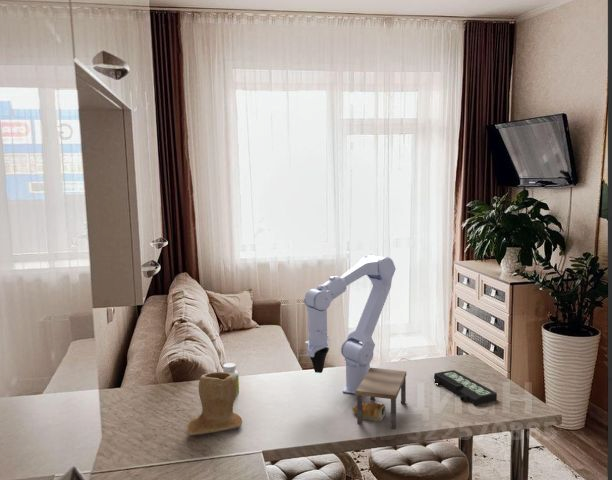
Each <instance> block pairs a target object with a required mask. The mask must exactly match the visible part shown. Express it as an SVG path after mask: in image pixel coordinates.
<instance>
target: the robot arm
mask: <svg viewBox="0 0 612 480" xmlns="http://www.w3.org/2000/svg"><path fill="white" fill-rule="evenodd" d="M396 269H397V268H396V265H395V263H394V260H393V259H392V258H390V257H389V256H388V257H387V256H379V255H373V254H372V253H371V254H370V253H369V254H365V255H364V256H363V257H362V258H360V259H359V262H357V263H355V265H354V266H352V267H351V268H349V269H348V270H347V271H345V273H343V274H342V275H341V276H338V275H335V276H333V275H331V276H329V279H328V280H326V281H325V282H323V283H322V284H319V285H318V286H317V287H316V288H311V289H308V290H307V292H306V293H305V294H304V297H303V298H302V299H303V303H304V305H305V307H306V312H307V325H308V326H307V329H308V330H307V331H308V333H307V334H308V340H306V341H305V342H304V344H305V345H306V346H307V349H306V356H307V357H308V358H310V361H311V362H312V367H313V370H314V373H319V374H321V373H323V371H324V366H325V363H326V362H325V361H326V358H327V355H328V353H329V350H330V348H329V347H328V346H329V335H328V309H329V307H330V305H331V303H332V302H334V301H333V300H335V299H336V298H337V297H339V296H341V295H342V294H344V293H345V292H346V291H347V286H349V285H351V284H353V283H354V282H355V281H357V280H359V279H361V278H363V277H364V276H367V278H368V279H369V281H370V282H371V284H372V288H371V290H370V293H369V295H368V298H367V301H366V303H365V305H364V309H363V311H362V313H361V316H360V319H359V321H358V324H357V325H356V328H355V330H354V331H352V332H350V333H349V334H348V335H347V338H346V339H345V340H344V341H343V342H342V344H341V348H340V353H341V355H342V357H343V358H344V361H345V380H346V381H345V382H346V383H345V384H346V385H345V386H344V388H343V389H342V393H346V394H355V395H356V390H357V388H358V387H359V385H360V384H361V382H362V380H363V379H364V377H365V376H366V374H367V372H368V371H369V369H370V368H371V365H370V363H371V361H372V360H373V357H374V349H375V346H376V344H375V342H374V340H373V334H374V332H375V329H376V326H377V324H378V321H379V318H380V316H381V313H382V311H383V309H384V306H385V303H386V300H387V299H388V296H389V293H390V290H391V288H392V282H393V278H394V275H395V272H396Z"/></svg>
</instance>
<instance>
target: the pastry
mask: <svg viewBox="0 0 612 480" xmlns="http://www.w3.org/2000/svg"><path fill="white" fill-rule="evenodd" d="M362 410H363V420H364V419H365V420H367V421H368V420H370V421H373V422H381V421H383V419H384V417H385V416H386V414H387V407H386V405H385V404H384V403H382V404H381V403H377V402H370V403H369V402H364V403H363V402H362ZM352 412H353V413H354V415H355V416H357V404H356V405H355V406H354V407H352Z"/></svg>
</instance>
